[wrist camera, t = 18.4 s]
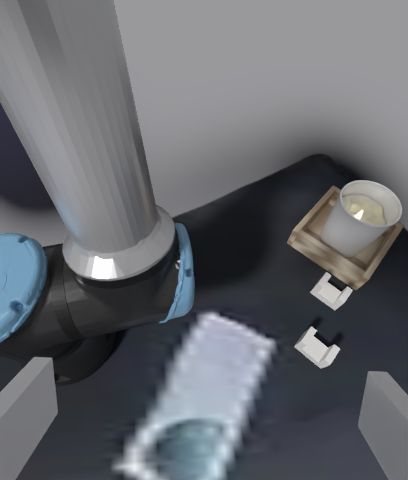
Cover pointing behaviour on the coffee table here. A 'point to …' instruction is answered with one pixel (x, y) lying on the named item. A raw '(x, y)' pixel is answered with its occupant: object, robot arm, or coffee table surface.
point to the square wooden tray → (344, 269)
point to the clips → (307, 341)
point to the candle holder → (360, 217)
